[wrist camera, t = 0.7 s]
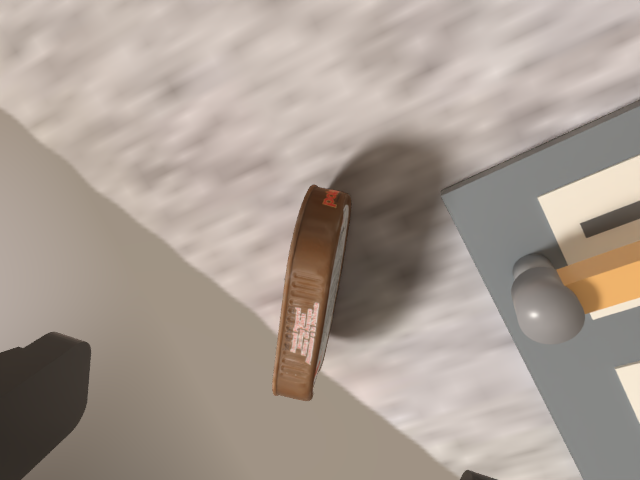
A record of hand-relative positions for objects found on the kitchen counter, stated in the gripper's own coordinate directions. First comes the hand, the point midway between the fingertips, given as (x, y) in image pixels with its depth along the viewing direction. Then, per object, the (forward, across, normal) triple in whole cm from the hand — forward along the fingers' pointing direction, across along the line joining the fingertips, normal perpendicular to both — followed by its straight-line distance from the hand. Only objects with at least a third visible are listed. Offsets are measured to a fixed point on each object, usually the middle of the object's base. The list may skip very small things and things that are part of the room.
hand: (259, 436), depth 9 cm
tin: (+25, +2, +6) cm, 26 cm away
